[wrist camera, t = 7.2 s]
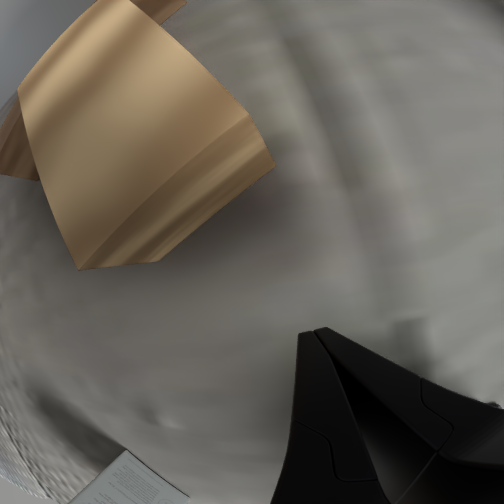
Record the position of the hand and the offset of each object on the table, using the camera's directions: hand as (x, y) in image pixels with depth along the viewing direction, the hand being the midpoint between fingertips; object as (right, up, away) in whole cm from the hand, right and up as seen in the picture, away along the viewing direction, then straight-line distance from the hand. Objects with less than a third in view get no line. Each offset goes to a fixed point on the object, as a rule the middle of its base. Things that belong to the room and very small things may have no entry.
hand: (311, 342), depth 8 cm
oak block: (-9, +11, +12) cm, 18 cm away
